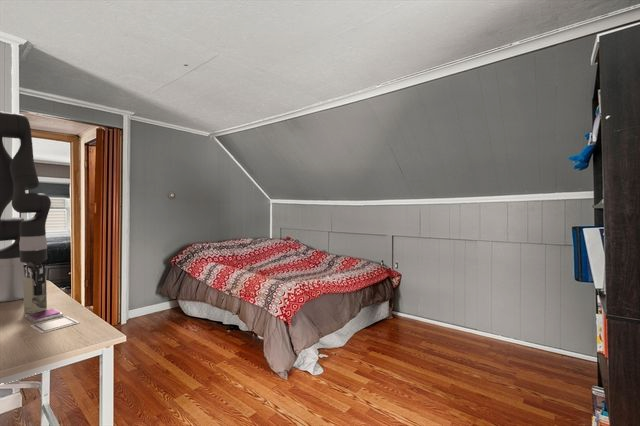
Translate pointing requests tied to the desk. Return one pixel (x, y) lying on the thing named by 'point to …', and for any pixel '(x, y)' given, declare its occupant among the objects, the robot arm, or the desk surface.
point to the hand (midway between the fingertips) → (35, 293)
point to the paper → (54, 324)
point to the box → (33, 297)
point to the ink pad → (43, 315)
